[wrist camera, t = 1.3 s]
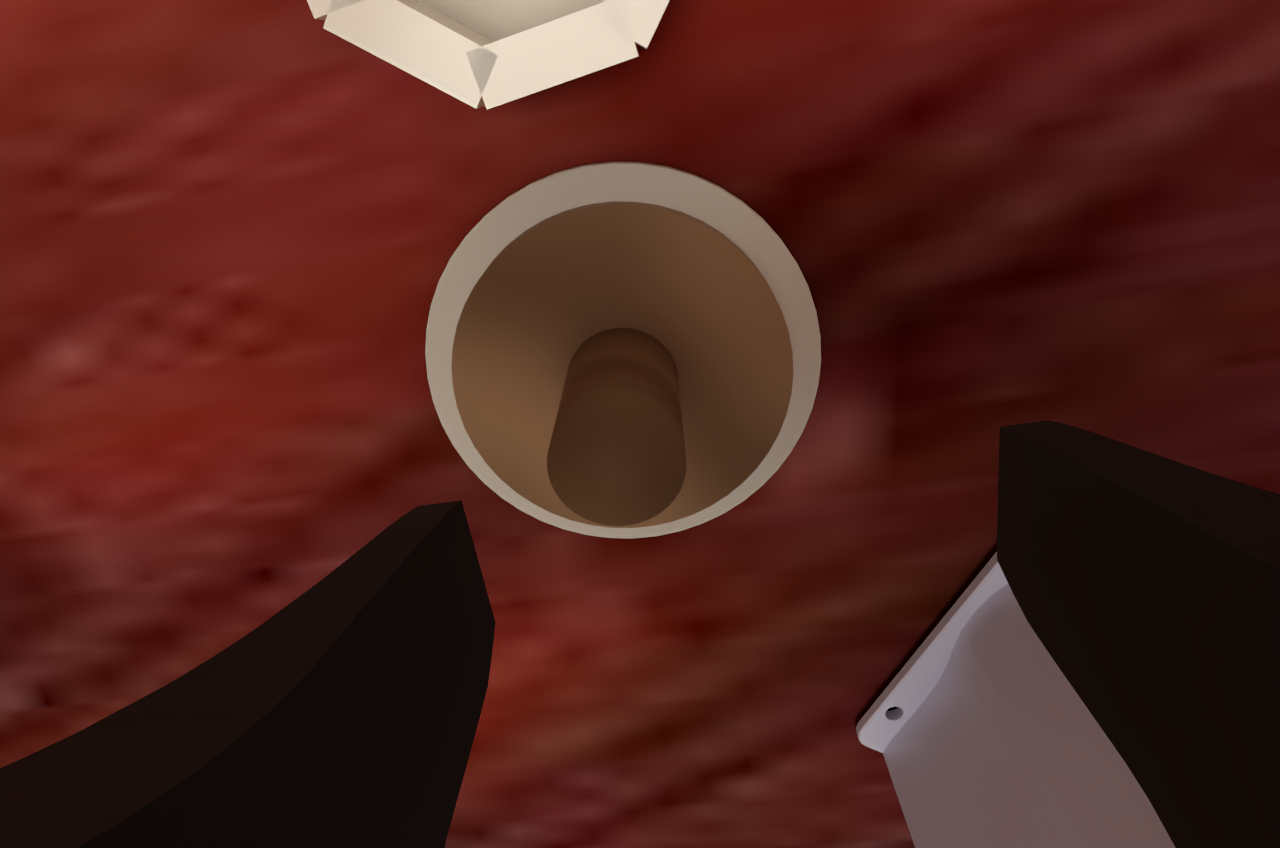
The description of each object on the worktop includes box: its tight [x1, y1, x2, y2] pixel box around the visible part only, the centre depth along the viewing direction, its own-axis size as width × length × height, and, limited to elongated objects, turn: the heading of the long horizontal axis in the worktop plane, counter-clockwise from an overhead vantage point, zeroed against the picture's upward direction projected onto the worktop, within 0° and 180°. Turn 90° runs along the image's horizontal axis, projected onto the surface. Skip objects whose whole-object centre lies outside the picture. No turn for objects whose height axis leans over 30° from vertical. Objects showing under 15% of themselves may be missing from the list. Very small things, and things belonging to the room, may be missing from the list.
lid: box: [451, 201, 793, 528], centre depth 18 cm, size 8×8×5 cm
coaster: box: [425, 161, 821, 538], centre depth 20 cm, size 10×10×1 cm
